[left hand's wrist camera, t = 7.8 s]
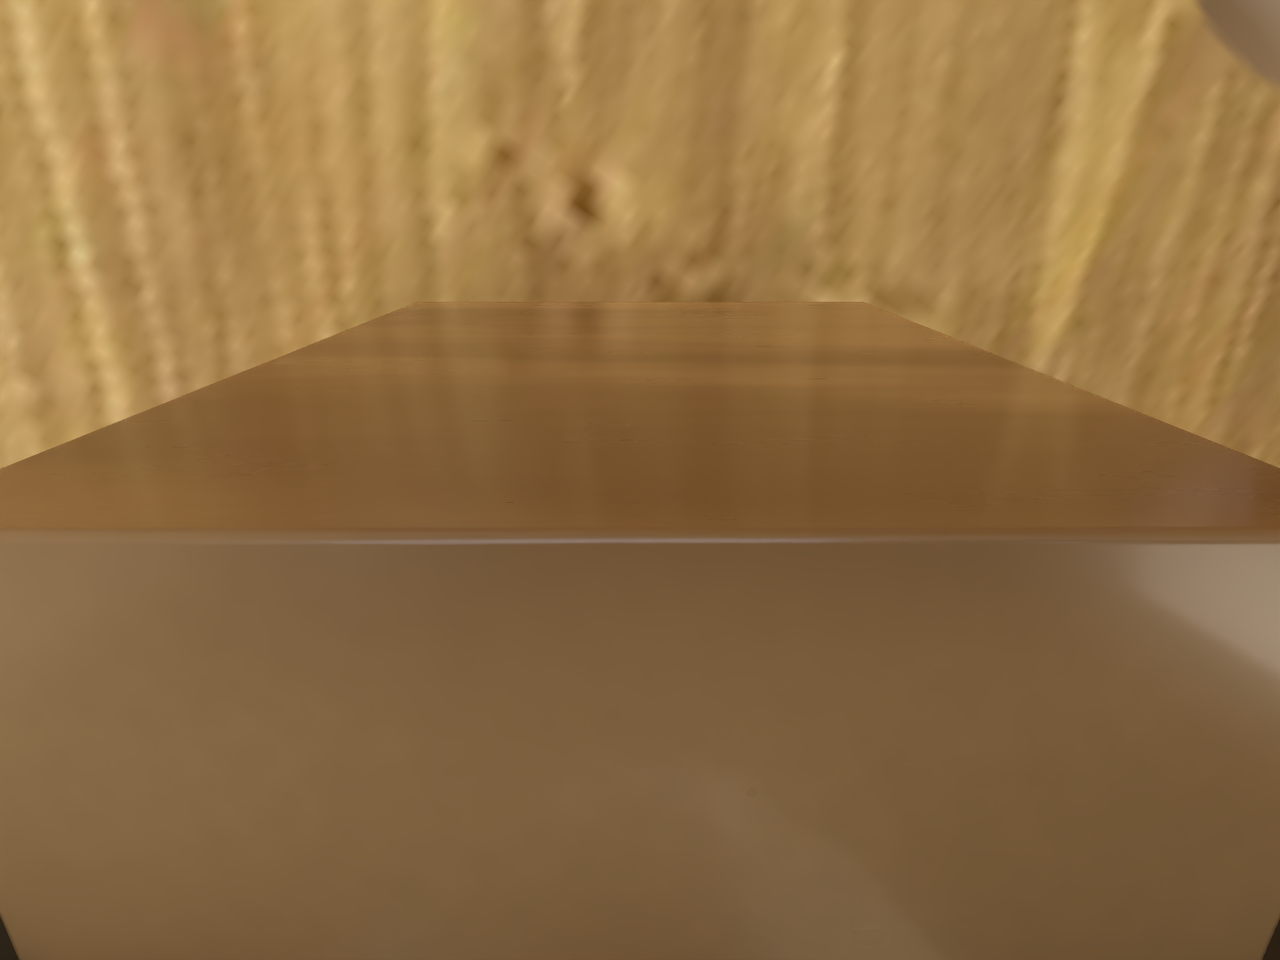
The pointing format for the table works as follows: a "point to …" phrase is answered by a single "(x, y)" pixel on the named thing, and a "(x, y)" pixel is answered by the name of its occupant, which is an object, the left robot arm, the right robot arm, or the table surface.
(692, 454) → the box
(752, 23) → the table surface
